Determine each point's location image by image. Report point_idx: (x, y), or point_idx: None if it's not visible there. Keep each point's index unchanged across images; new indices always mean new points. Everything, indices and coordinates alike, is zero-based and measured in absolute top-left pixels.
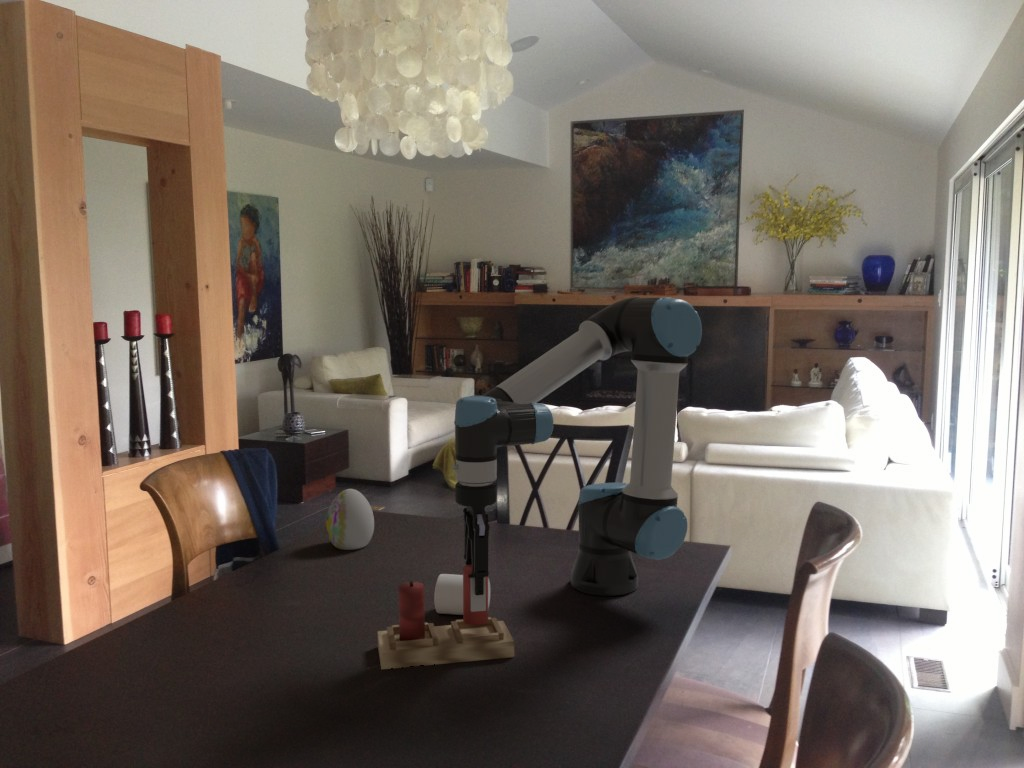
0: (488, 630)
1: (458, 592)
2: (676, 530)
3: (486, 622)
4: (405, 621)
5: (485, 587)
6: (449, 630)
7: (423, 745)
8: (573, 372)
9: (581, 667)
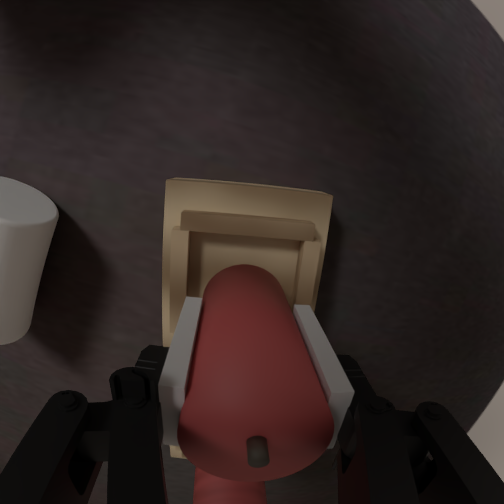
0: (231, 245)
1: (16, 291)
2: None
3: (272, 275)
4: None
5: (335, 356)
6: None
7: (487, 385)
8: None
9: (412, 72)
